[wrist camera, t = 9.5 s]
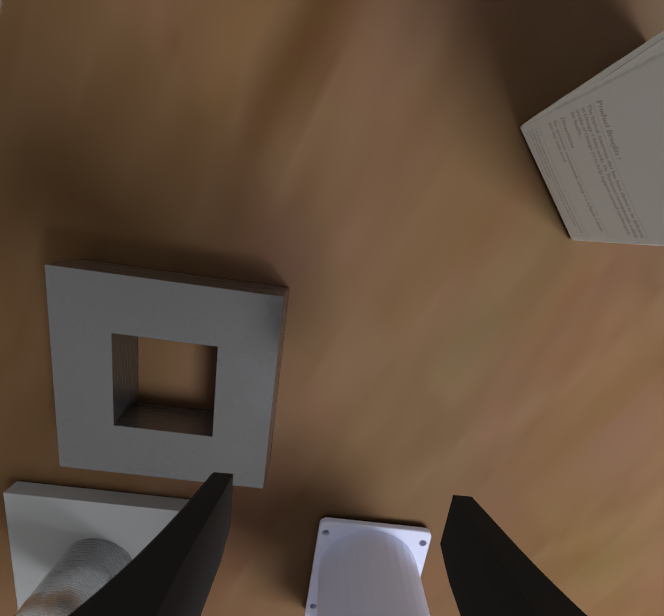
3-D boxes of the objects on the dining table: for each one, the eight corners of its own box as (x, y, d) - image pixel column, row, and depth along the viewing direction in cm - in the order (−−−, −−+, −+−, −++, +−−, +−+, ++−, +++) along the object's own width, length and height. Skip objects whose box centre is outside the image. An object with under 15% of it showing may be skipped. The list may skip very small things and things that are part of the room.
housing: (269, 459, 22) (262, 488, 20) (89, 439, 22) (59, 466, 20) (289, 287, 20) (283, 296, 17) (80, 259, 19) (44, 264, 17)
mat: (187, 623, 26) (182, 639, 25) (31, 609, 26) (20, 624, 25) (193, 500, 23) (187, 511, 22) (17, 481, 23) (3, 492, 22)
